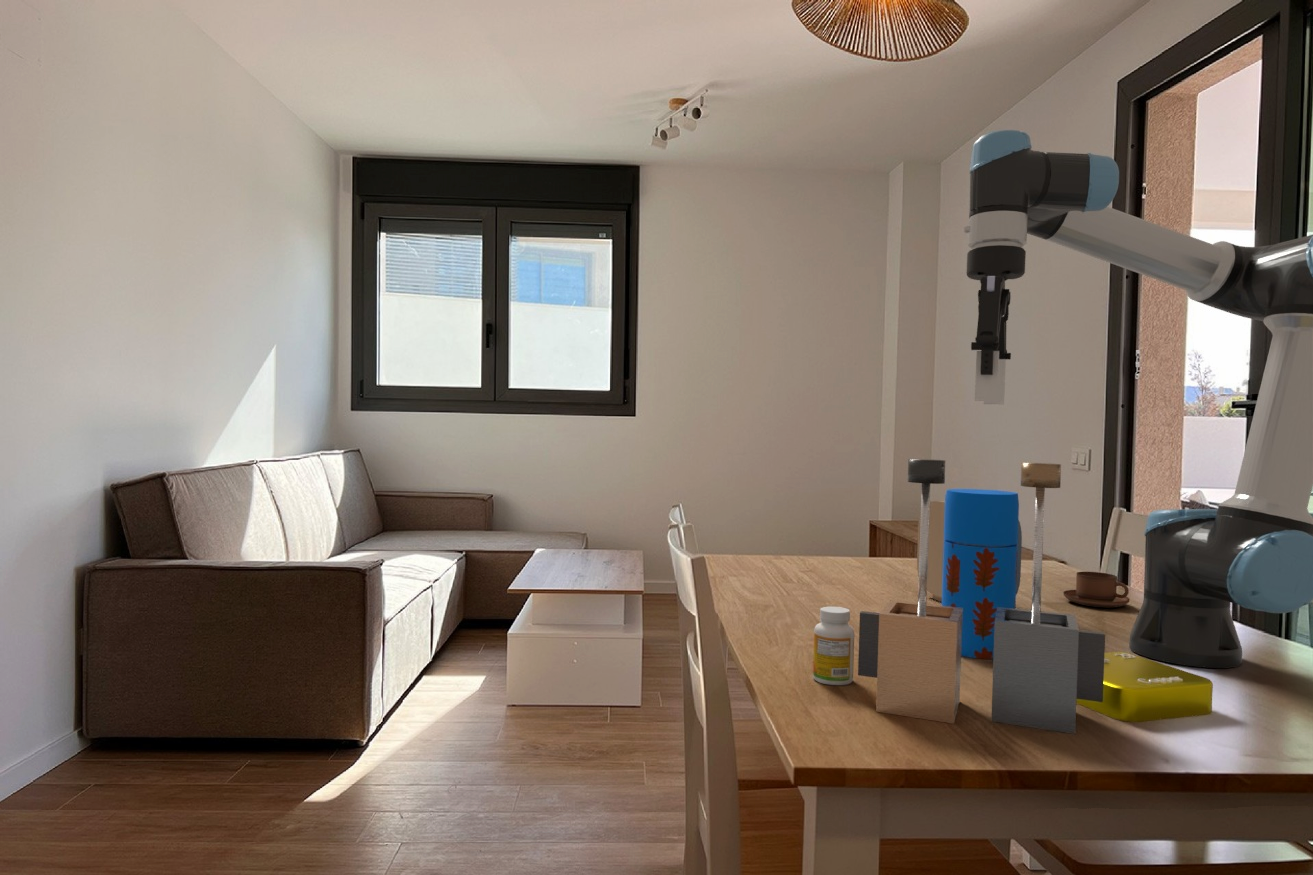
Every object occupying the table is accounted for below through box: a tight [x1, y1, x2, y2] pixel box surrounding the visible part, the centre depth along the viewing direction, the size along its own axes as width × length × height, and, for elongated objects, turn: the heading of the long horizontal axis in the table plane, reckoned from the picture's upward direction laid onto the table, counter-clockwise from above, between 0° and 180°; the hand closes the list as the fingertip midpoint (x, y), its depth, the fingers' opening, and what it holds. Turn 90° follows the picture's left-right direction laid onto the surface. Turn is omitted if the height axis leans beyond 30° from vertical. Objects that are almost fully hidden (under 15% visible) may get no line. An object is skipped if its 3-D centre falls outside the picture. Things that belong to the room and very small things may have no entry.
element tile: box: [1076, 651, 1214, 723], centre depth 113 cm, size 15×15×5 cm
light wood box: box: [857, 599, 963, 724], centre depth 108 cm, size 12×9×12 cm
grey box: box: [991, 607, 1106, 735], centre depth 104 cm, size 12×9×12 cm
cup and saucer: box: [1062, 571, 1130, 609], centre depth 174 cm, size 12×12×6 cm
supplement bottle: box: [812, 606, 855, 686], centre depth 118 cm, size 5×5×10 cm
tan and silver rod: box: [1009, 462, 1062, 627], centre depth 105 cm, size 6×6×21 cm
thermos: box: [941, 488, 1020, 660], centre depth 135 cm, size 11×11×25 cm
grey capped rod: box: [900, 458, 949, 620], centre depth 107 cm, size 6×6×21 cm
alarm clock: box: [916, 493, 1023, 603], centre depth 171 cm, size 21×10×22 cm, turn 15°
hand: (990, 403), depth 119 cm, fingers open, 13 cm apart
